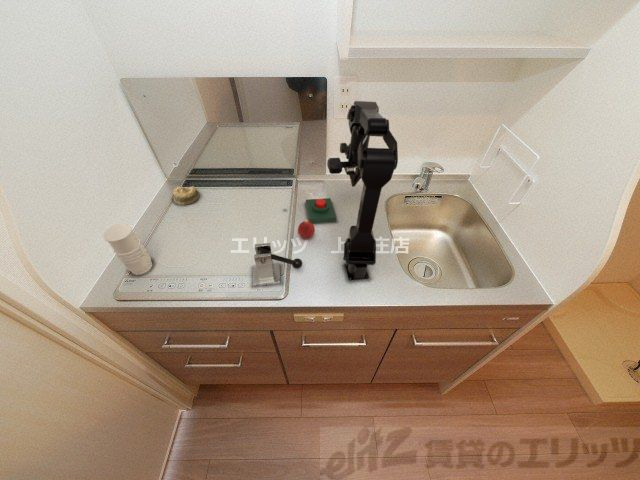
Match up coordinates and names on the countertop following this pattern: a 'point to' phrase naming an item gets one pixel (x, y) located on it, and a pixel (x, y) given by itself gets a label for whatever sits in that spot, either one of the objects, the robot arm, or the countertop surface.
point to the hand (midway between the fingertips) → (352, 186)
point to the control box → (320, 211)
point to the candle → (128, 248)
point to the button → (320, 203)
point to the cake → (185, 195)
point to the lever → (282, 258)
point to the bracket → (265, 267)
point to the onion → (306, 229)
